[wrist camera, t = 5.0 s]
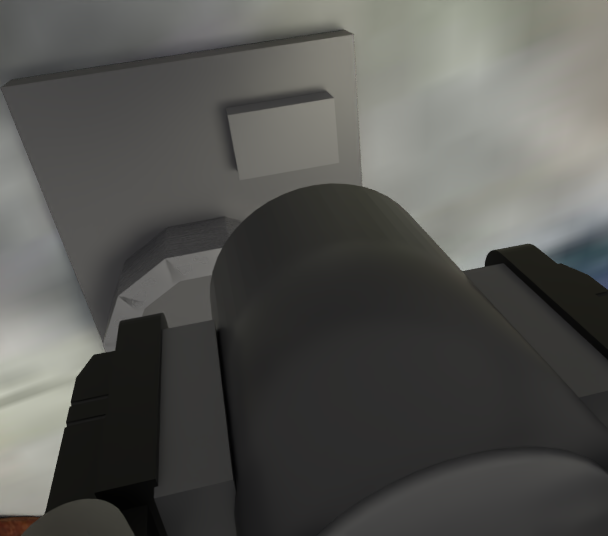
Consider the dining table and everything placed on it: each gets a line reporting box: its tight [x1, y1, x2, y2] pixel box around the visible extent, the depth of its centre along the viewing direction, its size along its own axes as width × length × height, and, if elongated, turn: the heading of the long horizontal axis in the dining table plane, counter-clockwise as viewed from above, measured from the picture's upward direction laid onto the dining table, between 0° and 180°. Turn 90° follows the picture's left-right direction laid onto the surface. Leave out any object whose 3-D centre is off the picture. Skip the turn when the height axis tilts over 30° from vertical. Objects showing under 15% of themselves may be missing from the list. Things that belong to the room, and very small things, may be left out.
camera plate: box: [1, 30, 362, 341], centre depth 26 cm, size 14×20×3 cm
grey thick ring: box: [103, 216, 242, 352], centre depth 26 cm, size 10×10×3 cm
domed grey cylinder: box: [154, 183, 608, 536], centre depth 8 cm, size 6×5×6 cm
